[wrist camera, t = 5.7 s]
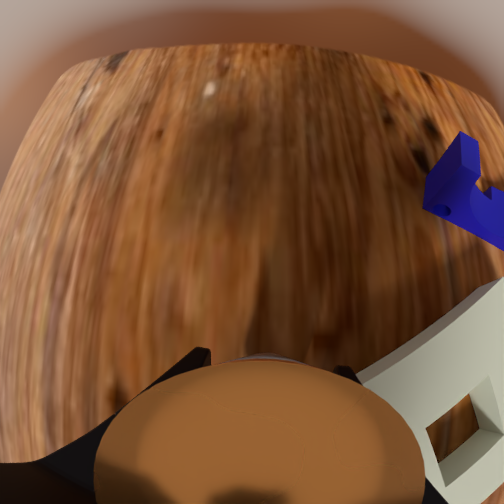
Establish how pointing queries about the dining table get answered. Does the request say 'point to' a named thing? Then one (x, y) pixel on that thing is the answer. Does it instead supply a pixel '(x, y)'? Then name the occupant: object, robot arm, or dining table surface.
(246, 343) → the dining table surface
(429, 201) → the blue cradle bracket
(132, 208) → the dining table surface
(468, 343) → the block
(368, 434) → the steel pin
